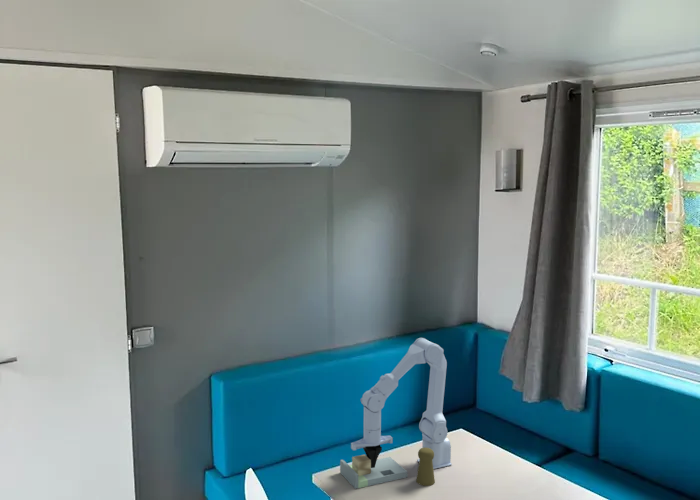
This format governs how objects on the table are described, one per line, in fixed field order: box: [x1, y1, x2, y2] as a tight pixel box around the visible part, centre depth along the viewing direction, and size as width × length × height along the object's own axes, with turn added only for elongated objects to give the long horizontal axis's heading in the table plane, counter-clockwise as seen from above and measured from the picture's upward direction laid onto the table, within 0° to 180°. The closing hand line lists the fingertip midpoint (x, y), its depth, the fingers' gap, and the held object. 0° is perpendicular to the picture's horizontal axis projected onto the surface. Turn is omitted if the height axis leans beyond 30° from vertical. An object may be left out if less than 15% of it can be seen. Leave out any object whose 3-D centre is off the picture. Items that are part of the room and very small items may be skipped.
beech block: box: [351, 453, 371, 476], centre depth 203 cm, size 5×5×5 cm
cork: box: [415, 447, 436, 487], centre depth 201 cm, size 6×6×11 cm
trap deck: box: [339, 456, 408, 490], centre depth 206 cm, size 19×12×4 cm, turn 115°
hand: (371, 466), depth 205 cm, fingers closed
